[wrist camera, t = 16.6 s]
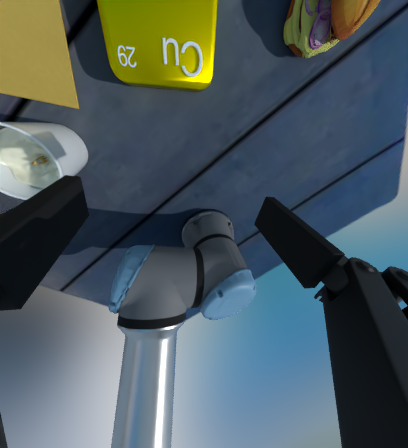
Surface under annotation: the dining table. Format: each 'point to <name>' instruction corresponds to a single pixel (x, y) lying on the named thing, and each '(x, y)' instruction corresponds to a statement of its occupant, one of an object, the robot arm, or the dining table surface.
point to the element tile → (160, 42)
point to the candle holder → (37, 156)
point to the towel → (35, 52)
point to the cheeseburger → (323, 23)
